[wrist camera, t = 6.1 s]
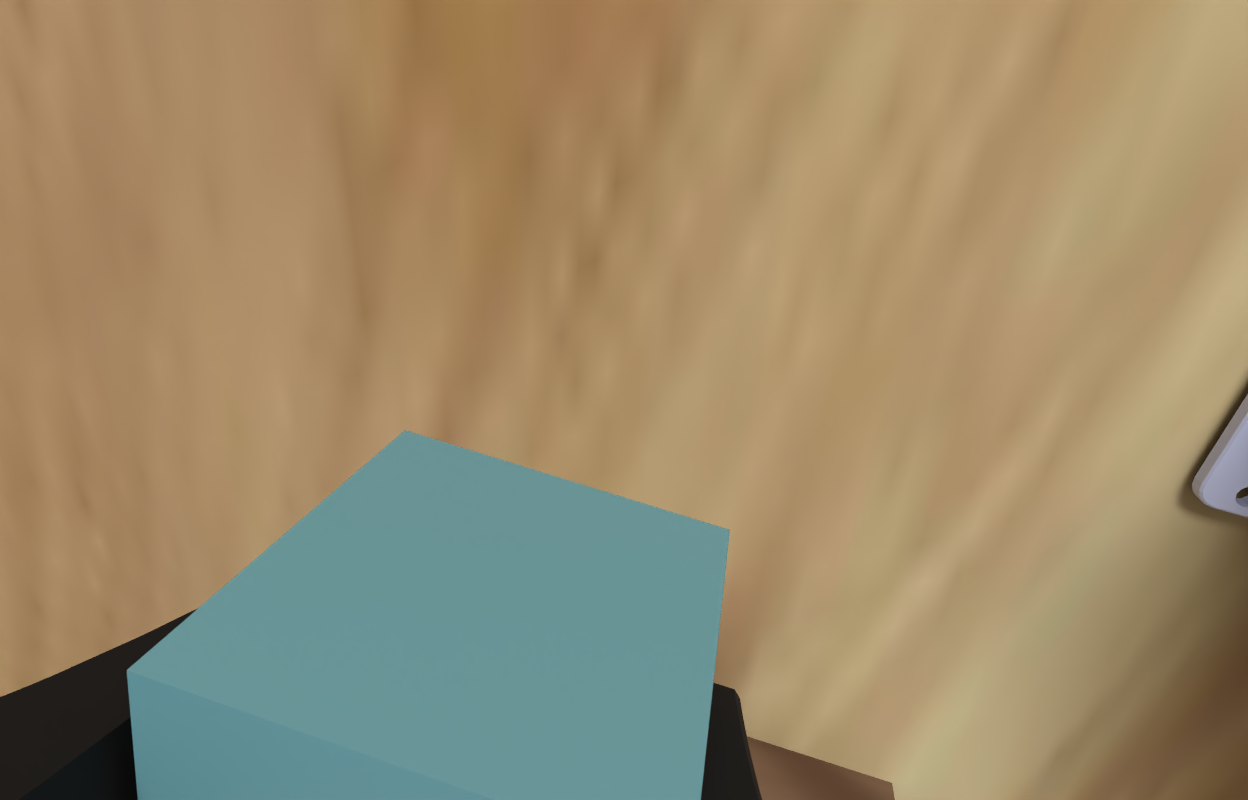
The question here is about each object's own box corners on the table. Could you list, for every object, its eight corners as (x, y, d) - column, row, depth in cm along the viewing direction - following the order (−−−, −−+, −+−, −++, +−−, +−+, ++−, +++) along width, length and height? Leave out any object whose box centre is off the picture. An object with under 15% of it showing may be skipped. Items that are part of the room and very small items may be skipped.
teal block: (729, 529, 10) (692, 869, 6) (647, 766, 12) (571, 1155, 8) (404, 430, 11) (126, 670, 6) (378, 674, 13) (154, 990, 8)
